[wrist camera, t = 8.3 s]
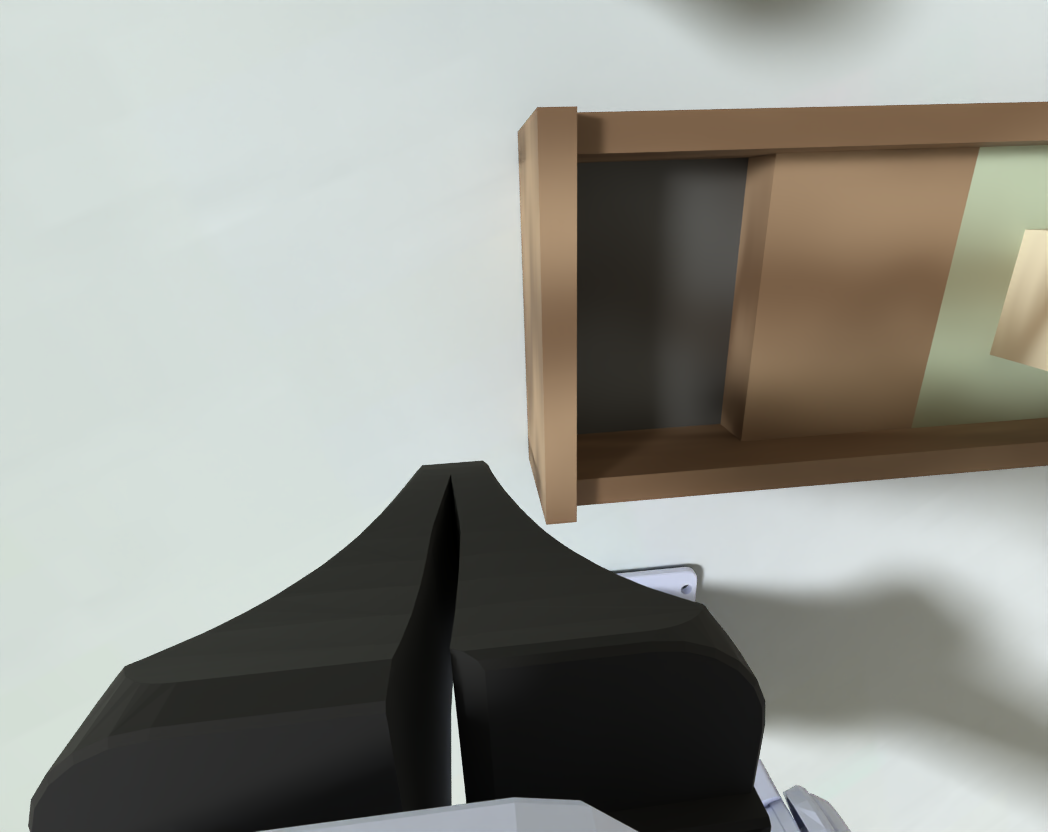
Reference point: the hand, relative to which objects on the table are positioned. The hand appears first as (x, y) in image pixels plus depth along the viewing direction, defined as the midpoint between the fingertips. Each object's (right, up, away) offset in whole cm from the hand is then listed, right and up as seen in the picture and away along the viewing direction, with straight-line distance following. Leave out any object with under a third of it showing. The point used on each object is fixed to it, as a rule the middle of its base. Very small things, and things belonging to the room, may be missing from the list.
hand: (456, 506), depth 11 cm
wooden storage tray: (+13, +7, +10) cm, 18 cm away
